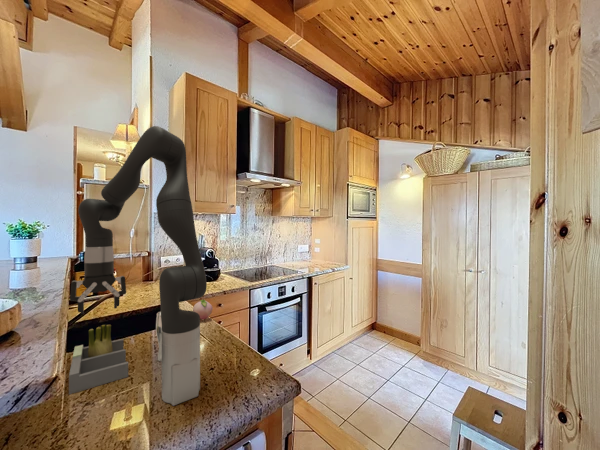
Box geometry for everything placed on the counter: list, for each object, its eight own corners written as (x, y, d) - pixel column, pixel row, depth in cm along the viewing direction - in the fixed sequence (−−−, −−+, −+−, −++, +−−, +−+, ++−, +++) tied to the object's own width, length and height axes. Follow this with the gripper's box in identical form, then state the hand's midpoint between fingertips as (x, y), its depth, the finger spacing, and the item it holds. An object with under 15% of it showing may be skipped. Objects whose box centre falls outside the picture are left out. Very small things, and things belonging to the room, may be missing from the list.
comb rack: (128, 376, 75) (128, 358, 75) (68, 394, 67) (68, 373, 67) (123, 349, 92) (123, 334, 92) (75, 361, 84) (75, 345, 84)
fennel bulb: (87, 368, 80) (87, 330, 80) (92, 361, 84) (92, 324, 84) (109, 364, 82) (109, 327, 82) (113, 357, 87) (113, 321, 87)
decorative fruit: (190, 319, 123) (190, 298, 123) (208, 315, 127) (208, 295, 128) (196, 325, 115) (196, 302, 115) (214, 321, 120) (214, 299, 120)
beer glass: (155, 364, 82) (155, 317, 82) (156, 354, 88) (156, 311, 88) (179, 359, 85) (179, 313, 86) (178, 350, 92) (178, 308, 92)
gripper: (69, 263, 77) (69, 318, 76) (126, 259, 85) (126, 308, 85) (71, 261, 82) (71, 312, 82) (124, 258, 91) (124, 303, 91)
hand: (99, 310), depth 84 cm, fingers open, 8 cm apart
